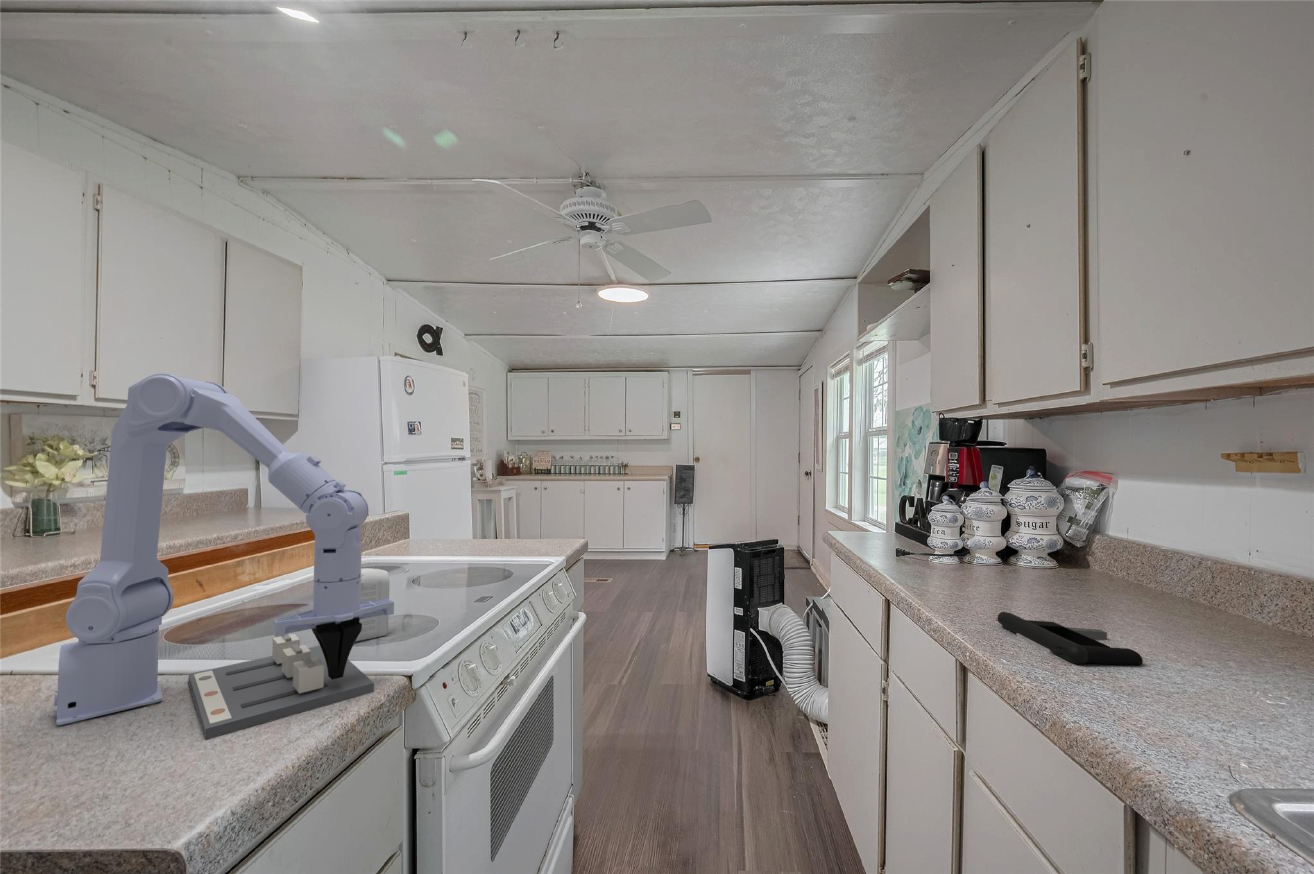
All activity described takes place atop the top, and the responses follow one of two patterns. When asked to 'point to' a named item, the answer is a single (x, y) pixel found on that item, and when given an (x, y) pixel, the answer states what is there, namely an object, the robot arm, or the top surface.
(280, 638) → the far tab
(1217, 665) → the top surface
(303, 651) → the middle tab
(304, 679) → the near tab
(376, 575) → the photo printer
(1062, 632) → the door handle
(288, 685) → the switch board
